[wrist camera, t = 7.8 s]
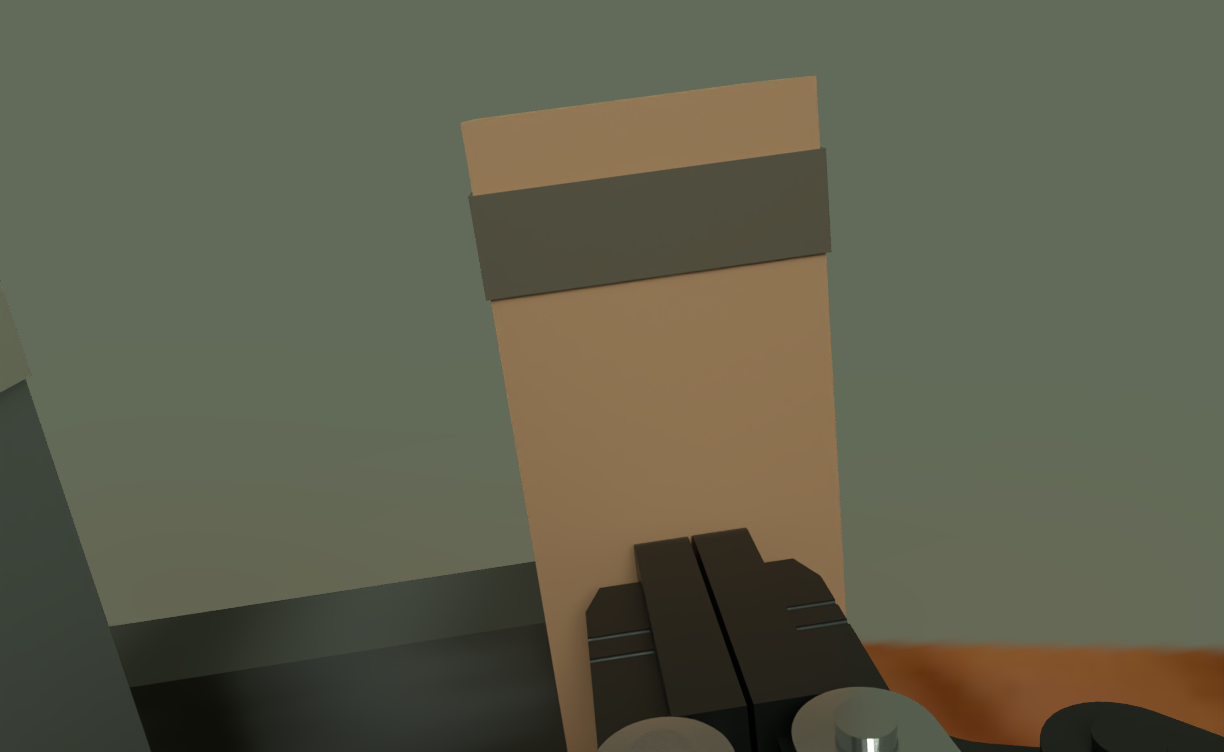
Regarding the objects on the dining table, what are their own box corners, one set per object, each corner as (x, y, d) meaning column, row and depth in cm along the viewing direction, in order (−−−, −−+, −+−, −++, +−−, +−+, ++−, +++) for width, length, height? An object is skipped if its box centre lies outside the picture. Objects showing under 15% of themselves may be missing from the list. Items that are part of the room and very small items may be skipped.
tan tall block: (597, 951, 13) (456, 123, 10) (586, 798, 16) (473, 119, 13) (866, 905, 14) (822, 75, 10) (807, 762, 17) (756, 81, 13)
